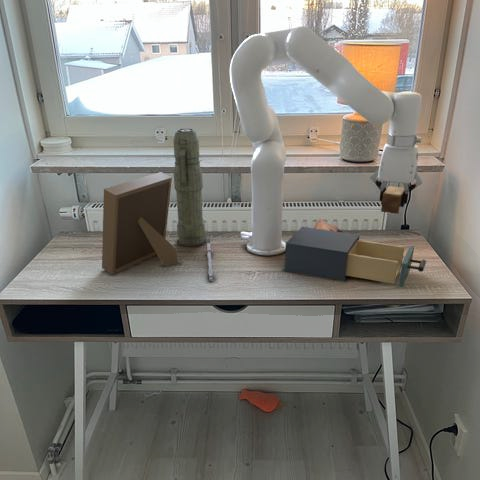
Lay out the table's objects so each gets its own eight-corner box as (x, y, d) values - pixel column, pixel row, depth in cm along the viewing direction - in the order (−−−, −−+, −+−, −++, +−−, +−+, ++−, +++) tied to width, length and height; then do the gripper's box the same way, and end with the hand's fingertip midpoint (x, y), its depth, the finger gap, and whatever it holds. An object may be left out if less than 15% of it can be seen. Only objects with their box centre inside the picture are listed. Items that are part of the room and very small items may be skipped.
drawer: (425, 270, 148) (429, 248, 145) (418, 290, 137) (423, 266, 134) (353, 259, 155) (356, 237, 152) (342, 276, 145) (344, 254, 141)
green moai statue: (175, 247, 167) (167, 133, 149) (180, 234, 177) (173, 126, 160) (203, 248, 166) (198, 133, 149) (206, 234, 177) (202, 126, 159)
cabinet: (356, 261, 156) (359, 234, 152) (344, 281, 145) (347, 252, 140) (300, 252, 162) (302, 226, 158) (284, 270, 151) (285, 242, 147)
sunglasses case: (339, 247, 164) (329, 229, 162) (319, 257, 167) (309, 239, 165) (339, 228, 180) (331, 211, 177) (321, 237, 182) (312, 221, 180)
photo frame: (102, 271, 152) (89, 185, 139) (154, 247, 167) (146, 169, 154) (138, 283, 144) (128, 194, 132) (189, 258, 159) (184, 176, 147)
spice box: (380, 211, 152) (383, 193, 149) (386, 204, 158) (388, 186, 155) (398, 213, 150) (401, 195, 147) (403, 205, 156) (405, 187, 154)
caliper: (206, 253, 162) (206, 234, 159) (210, 253, 163) (209, 234, 159) (209, 281, 145) (208, 260, 142) (213, 281, 145) (212, 260, 142)
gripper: (435, 140, 144) (424, 204, 153) (373, 136, 150) (366, 198, 159) (431, 145, 138) (420, 212, 147) (367, 141, 145) (361, 204, 154)
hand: (392, 204), depth 153 cm, fingers closed on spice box, 5 cm apart
